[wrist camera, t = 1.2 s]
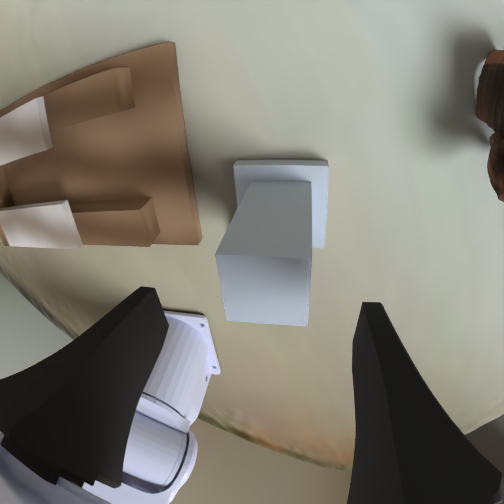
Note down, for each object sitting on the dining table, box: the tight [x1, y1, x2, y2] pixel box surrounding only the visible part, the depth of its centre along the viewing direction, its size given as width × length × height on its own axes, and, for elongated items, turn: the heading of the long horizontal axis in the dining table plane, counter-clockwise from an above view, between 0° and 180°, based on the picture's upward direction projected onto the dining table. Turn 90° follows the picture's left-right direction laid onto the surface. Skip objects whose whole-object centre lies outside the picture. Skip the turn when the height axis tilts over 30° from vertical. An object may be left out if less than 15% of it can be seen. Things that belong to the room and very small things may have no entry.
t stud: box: [215, 160, 329, 326], centre depth 16 cm, size 6×6×9 cm
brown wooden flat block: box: [0, 42, 202, 249], centre depth 19 cm, size 14×22×4 cm, turn 94°
